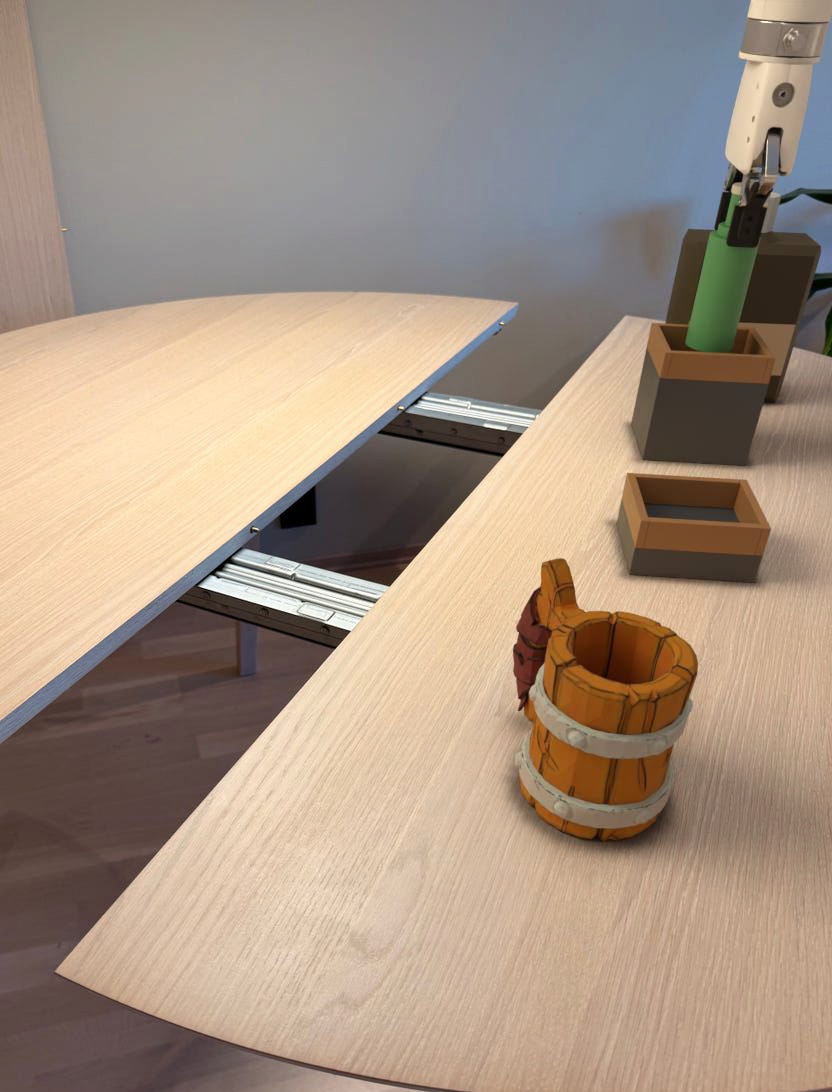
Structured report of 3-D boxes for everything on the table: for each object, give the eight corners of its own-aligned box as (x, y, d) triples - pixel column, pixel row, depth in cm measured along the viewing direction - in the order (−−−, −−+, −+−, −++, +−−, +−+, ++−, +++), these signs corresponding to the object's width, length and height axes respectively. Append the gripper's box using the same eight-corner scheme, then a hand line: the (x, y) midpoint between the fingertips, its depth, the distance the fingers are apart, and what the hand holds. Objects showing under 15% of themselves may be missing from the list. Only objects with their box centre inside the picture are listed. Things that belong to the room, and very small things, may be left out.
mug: (572, 867, 66) (611, 695, 57) (455, 718, 78) (472, 557, 69) (700, 821, 69) (756, 652, 60) (570, 685, 81) (600, 528, 73)
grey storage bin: (727, 430, 123) (754, 327, 116) (745, 465, 115) (776, 358, 108) (630, 424, 124) (651, 322, 116) (642, 459, 116) (665, 352, 108)
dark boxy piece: (649, 377, 137) (690, 184, 122) (765, 382, 137) (820, 188, 122) (661, 399, 131) (705, 199, 116) (782, 405, 130) (842, 204, 115)
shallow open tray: (732, 531, 103) (746, 479, 99) (754, 582, 95) (771, 528, 91) (616, 523, 104) (626, 472, 100) (629, 574, 96) (640, 520, 92)
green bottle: (726, 338, 114) (766, 181, 104) (736, 354, 110) (779, 192, 100) (681, 336, 115) (716, 178, 105) (689, 352, 111) (727, 189, 100)
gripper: (850, 53, 88) (791, 263, 98) (798, 35, 101) (751, 221, 112) (764, 50, 88) (715, 259, 99) (724, 33, 102) (685, 218, 113)
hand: (735, 237), depth 105 cm, fingers closed on green bottle, 5 cm apart
